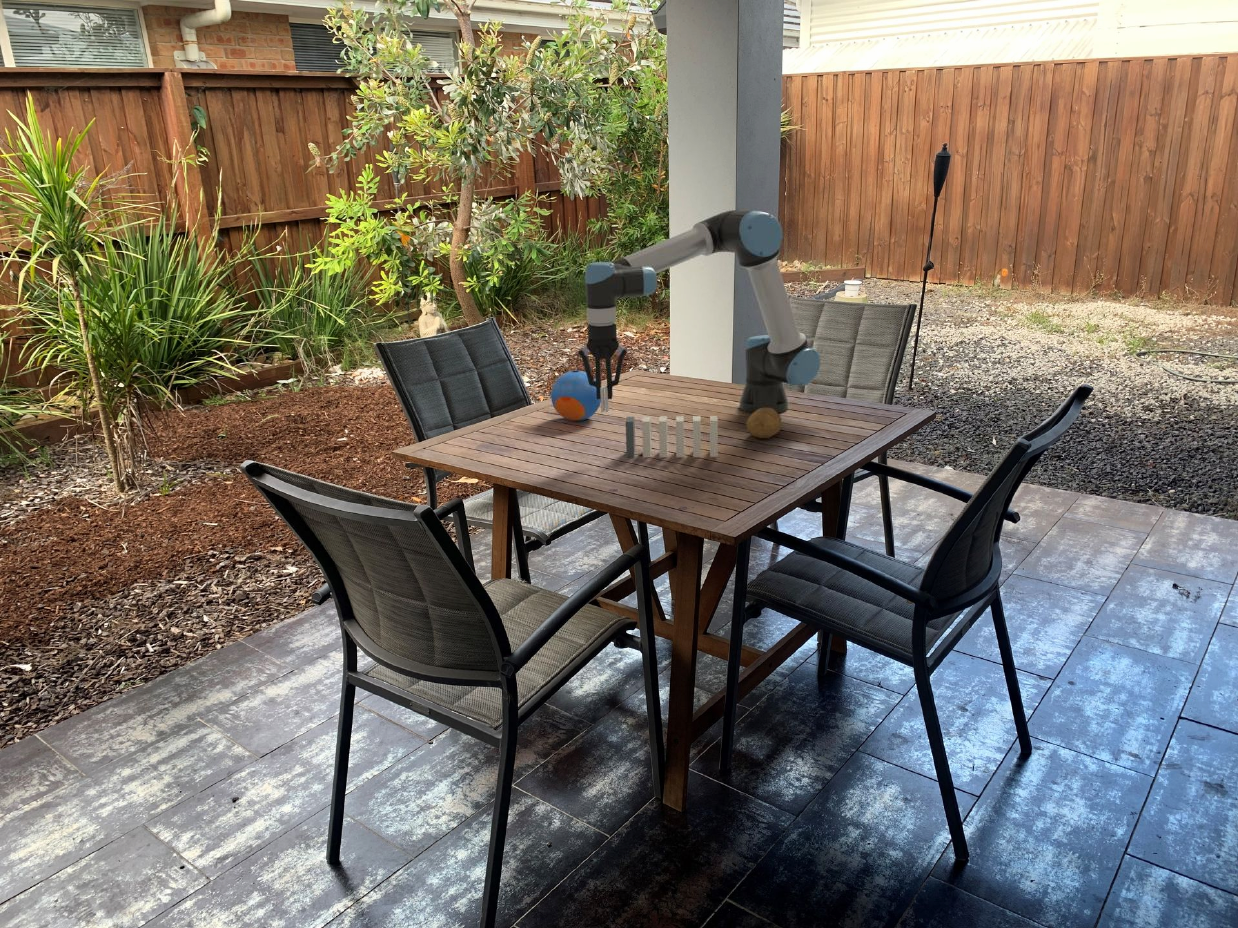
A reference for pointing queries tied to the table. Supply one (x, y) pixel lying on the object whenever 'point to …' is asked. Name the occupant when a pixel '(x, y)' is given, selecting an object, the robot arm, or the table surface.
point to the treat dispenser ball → (574, 396)
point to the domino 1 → (630, 437)
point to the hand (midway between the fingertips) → (605, 410)
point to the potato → (764, 423)
